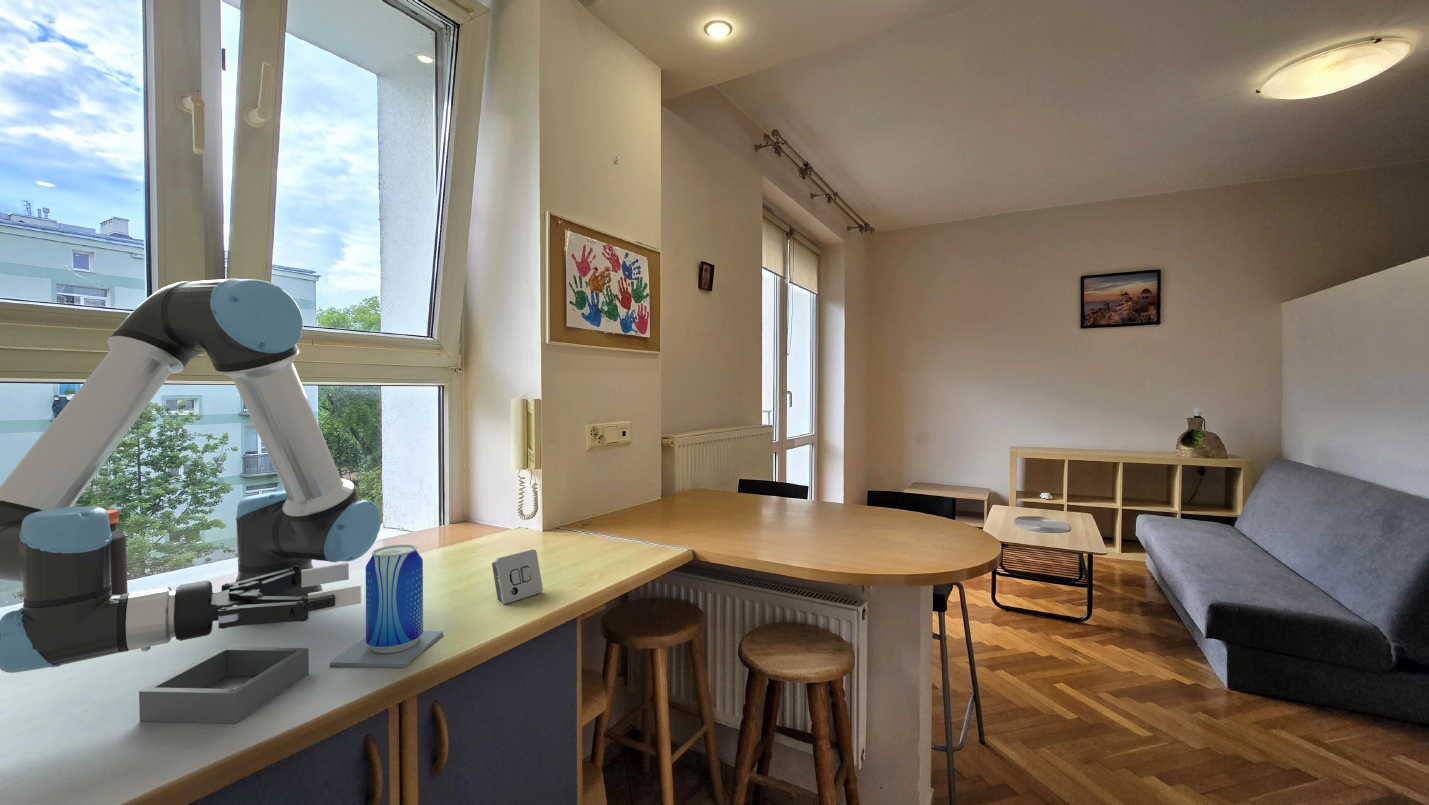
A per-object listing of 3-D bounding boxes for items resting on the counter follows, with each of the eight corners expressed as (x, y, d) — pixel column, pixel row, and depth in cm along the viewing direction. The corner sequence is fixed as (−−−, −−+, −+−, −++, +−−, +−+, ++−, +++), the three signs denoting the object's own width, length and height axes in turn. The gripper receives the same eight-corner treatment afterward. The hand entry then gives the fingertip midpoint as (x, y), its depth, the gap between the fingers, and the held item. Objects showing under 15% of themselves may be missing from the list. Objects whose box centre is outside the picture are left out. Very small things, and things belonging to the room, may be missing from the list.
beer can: (374, 636, 100) (374, 544, 100) (427, 631, 103) (427, 541, 102) (358, 658, 92) (358, 558, 92) (416, 652, 94) (416, 554, 94)
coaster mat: (329, 666, 91) (329, 662, 91) (376, 633, 103) (376, 630, 103) (404, 667, 91) (404, 663, 91) (442, 634, 103) (442, 631, 103)
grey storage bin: (139, 721, 76) (138, 691, 76) (226, 672, 89) (225, 646, 89) (236, 723, 76) (235, 693, 76) (308, 673, 89) (308, 648, 89)
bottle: (76, 617, 110) (73, 512, 109) (127, 607, 115) (124, 507, 114) (75, 627, 105) (72, 518, 104) (128, 617, 110) (126, 512, 109)
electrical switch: (503, 606, 116) (501, 559, 117) (490, 602, 120) (487, 557, 120) (543, 593, 124) (541, 549, 124) (529, 590, 127) (527, 547, 127)
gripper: (182, 612, 90) (344, 583, 103) (164, 676, 70) (366, 630, 84) (181, 564, 89) (343, 542, 103) (163, 614, 70) (366, 578, 83)
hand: (354, 581), depth 93 cm, fingers open, 13 cm apart
